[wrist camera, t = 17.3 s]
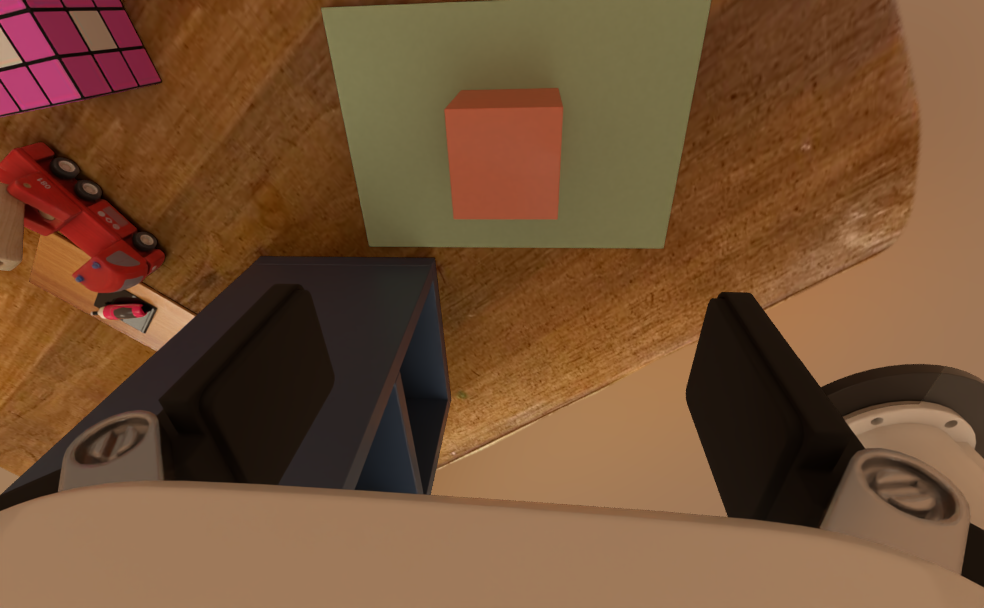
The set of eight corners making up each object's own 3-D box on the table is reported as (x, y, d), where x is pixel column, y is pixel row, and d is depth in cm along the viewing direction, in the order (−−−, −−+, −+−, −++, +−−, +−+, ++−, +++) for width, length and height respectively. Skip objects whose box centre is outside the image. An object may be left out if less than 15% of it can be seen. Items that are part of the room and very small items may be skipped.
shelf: (434, 257, 32) (300, 591, 14) (451, 399, 40) (378, 734, 22) (260, 256, 33) (-76, 563, 15) (309, 394, 41) (125, 708, 23)
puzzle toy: (84, 99, 28) (-8, 119, 23) (16, -11, 25) (-105, -14, 20) (163, 82, 27) (84, 99, 22) (103, -34, 24) (-3, -43, 19)
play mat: (710, -9, 23) (713, -9, 22) (662, 246, 30) (663, 248, 30) (323, 7, 24) (320, 7, 24) (370, 244, 32) (368, 246, 32)
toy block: (558, 87, 25) (563, 106, 21) (554, 184, 28) (557, 219, 24) (460, 90, 26) (443, 108, 21) (466, 185, 29) (453, 219, 24)
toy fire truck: (150, 275, 35) (36, 356, 27) (-32, 113, 29) (-247, 155, 21) (176, 256, 34) (64, 334, 26) (-7, 84, 28) (-226, 116, 20)
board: (45, 226, 33) (26, 234, 32) (201, 317, 37) (189, 328, 36) (31, 280, 36) (13, 290, 35) (177, 360, 40) (165, 371, 39)
